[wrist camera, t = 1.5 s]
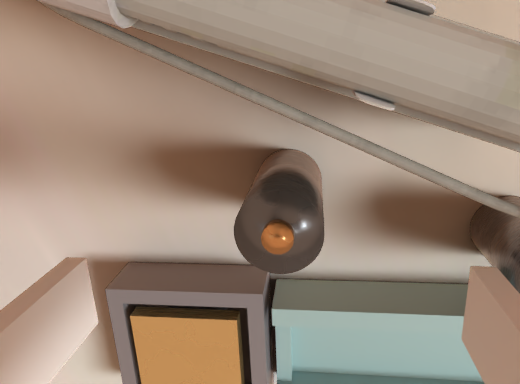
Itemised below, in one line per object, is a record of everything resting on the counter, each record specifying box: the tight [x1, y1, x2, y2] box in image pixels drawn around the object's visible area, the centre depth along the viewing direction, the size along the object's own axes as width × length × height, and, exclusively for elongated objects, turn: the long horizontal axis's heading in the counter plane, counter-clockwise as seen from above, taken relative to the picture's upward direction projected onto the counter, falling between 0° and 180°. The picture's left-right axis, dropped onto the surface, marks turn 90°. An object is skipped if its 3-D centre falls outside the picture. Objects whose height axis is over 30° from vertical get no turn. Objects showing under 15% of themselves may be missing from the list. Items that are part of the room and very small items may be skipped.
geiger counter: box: [37, 0, 520, 218], centre depth 17 cm, size 14×6×25 cm
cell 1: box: [234, 149, 324, 274], centre depth 22 cm, size 4×4×9 cm
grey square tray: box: [105, 262, 274, 384], centre depth 28 cm, size 10×10×4 cm
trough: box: [272, 279, 484, 384], centre depth 27 cm, size 8×16×4 cm, turn 92°
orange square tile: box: [130, 307, 245, 384], centre depth 27 cm, size 7×7×1 cm
